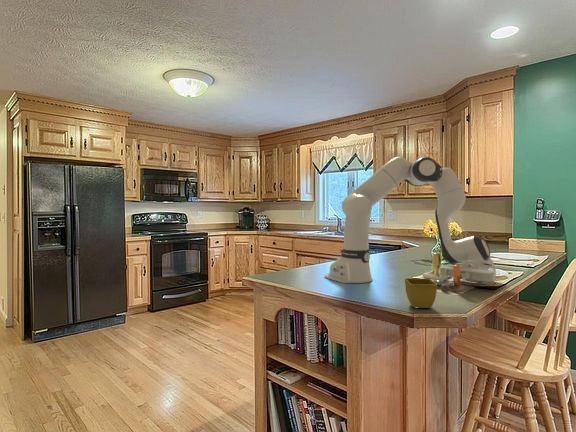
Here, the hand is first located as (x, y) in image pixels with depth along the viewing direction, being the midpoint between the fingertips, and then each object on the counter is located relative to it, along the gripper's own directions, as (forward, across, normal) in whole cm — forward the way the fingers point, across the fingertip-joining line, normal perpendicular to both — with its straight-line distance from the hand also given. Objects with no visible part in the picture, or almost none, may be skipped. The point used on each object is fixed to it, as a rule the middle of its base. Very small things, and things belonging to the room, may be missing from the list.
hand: (459, 276), depth 138 cm
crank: (0, -5, +5) cm, 7 cm away
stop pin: (-18, -17, +6) cm, 26 cm away
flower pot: (+27, -3, +6) cm, 28 cm away
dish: (-18, -17, +7) cm, 26 cm away
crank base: (-3, -7, +6) cm, 10 cm away
